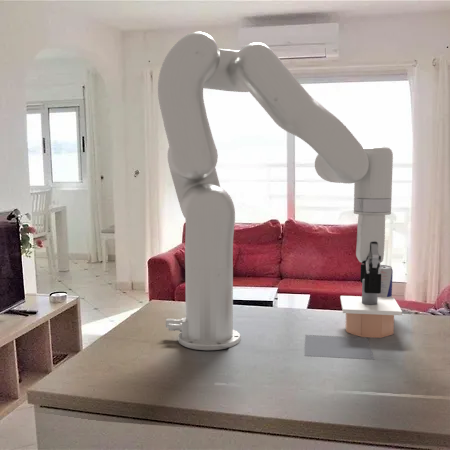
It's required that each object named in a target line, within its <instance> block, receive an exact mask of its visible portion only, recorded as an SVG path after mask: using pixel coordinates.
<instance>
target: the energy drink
mask: <svg viewBox="0 0 450 450" xmlns="http://www.w3.org/2000/svg"><path fill="white" fill-rule="evenodd" d="M380 266H381V293H379V294H378V297H391V298H393V275H394V274H393V273H394V272H393V267H392V266H391V265H387V264H380Z"/></svg>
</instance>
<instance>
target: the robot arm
mask: <svg viewBox="0 0 450 450" xmlns="http://www.w3.org/2000/svg"><path fill="white" fill-rule="evenodd" d="M163 59H164V60H163V62H162V64H161V68H160V70H159V74H158V75H159V76H158V81H157V99H158V103H159V104H158V105H159V108H160V112H161V118H162V121H163V126H164V130H165V135H166V138H167V142H168V149H167V163H168V167H169V171H170V175H171V179H172V182H173V185H174V191H175V194H176V196H177V200H178V204H179V208H180V211H181V213H182V216H183V217H184V219H185V236H184V237H185V238H184V240H185V241H184V242H185V244H184V268H185V270H184V271H185V272H184V273H185V278H184V279H185V283H184V284H185V317H181V319H176V318H166V319H165V328H166V329H168V331H174V332H175V331H178V332H179V334H178V338H177V339H178V340H177V341H178V343H179V344H180V345H182V346H183V347H185V348H188V349H191V350H197V351H218V350H219V351H220V350H226V349H230V348H231V347H234V346H236V345H238V344H239V343H240V342H241V333H239V331H237V330H235V329H234V312H233V311H234V293H233V292H234V264H233V263H234V260H233V259H234V257H233V256H234V253H233V252H234V235H235V234H234V233H235V221H236V210H235V209H236V208H235V204H234V202H233V198H232V197H231V196H230V194H229V193H228V192H227V191H226V190H225V189H224V188H222V187H221V185H220V179H219V177H218V172H217V169H216V166H217V164H218V158H219V157H218V155H219V154H218V149H217V146H216V143H215V140H214V137H213V134H212V130H211V126H210V123H209V119H208V115H207V110H206V106H205V101H204V89H207V90H217V91H223V92H224V91H225V92H235V93H237V92H238V93H250V94H251V96H252V97H253V98H254V99H255V100H256V102H257V103H258V104H259V105H260V106H261V107H262V108H263V110H264V111H265V112H266V114H267V115H268V116H269V117H270V118H271V119H272V121H274V123H275V124H276V125H277V126H278V127H280V128H281V129H283V131H285V132H287V133H289V134H291V135H294V136H295V137H298V138H299V139H301V140H302V141H303V142H304V143H305V144H307V145H309V147H310V148H312V149H313V150H314V151H315V153H317V155H316V157H315V159H314V169H315V172H316V173H317V175H318V176H319V177H320V178H321V179H322V180H324V181H327V182H330V183H337V184H338V183H339V184H354V188H353V189H354V190H353V214H355V215H358V216H357V229H356V232H357V233H356V249H355V256H356V258H357V260H358V262H359V263H361V264H360V277H359V279H360V283H361V284H362V279H365V283H364V291H365V293H378V294H379V293H381V266H380V265H381V263H382V262H384V256H385V242H386V240H385V239H386V216H388V215H389V216H390V215H392V194H393V169H394V167H393V165H394V164H393V163H394V157H393V154H394V153H393V150H392V149H391V148H390V147H385V146H362V144H361V143H360V141H358V139H357V138H356V137H355V135H354V134H353V133H352V132H351V131H350V130H349V129H348V127H347V126H346V125H345V124H344V122H342V121H341V120H340V119H339V118H338V117H336V116H335V115H334V114H333V113H331V112H330V110H328V109H326V107H324V106H323V105H322V104H321V103H320V102H318V101H317V100H316V99H314V98H313V97H312V96H311V95H310V94H309V92H308V91H307V90H306V89H305V88H304V87H303V85H301V83H300V82H299V80H297V78H296V77H295V76H294V74H293V73H292V72H291V71H290V70H289V68H288V67H287V66H286V65H285V63H284V62H283V61H282V60H281V59H280V58H279V56H278V55H277V54H276V53H275V52H274V50H273V49H272V48H271V47H269V46H268V45H266V44H265V43H263V42H252V43H251V42H250V43H248V44H246V45H244V46H243V47H242V48H241V49H239V50H235V49H225V48H224V49H223V48H220V47H219V46H218V43H217V41H216V40H215V39H214V38H213V37H212V35H210V34H208V33H206V32H202V31H194V32H190V33H187V34H186V35H184V36H182V37H181V38H180V39H179V40H178V41H177V42H175V44H173V46H172V47H171V49H170V50H169V51H168V53H167V54H166V56H165V57H164V58H163Z"/></svg>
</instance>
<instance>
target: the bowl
mask: <svg viewBox="0 0 450 450" xmlns="http://www.w3.org/2000/svg"><path fill="white" fill-rule="evenodd" d="M344 322H345V323H344V324H345V332H346V333H349V334H351V335H354V336H356V337H357V336H358V337H364V338H373V339H374V338H377V339H378V338H380V339H381V338H384V337H389V336H391V335H394V331H395V328H394V327H395V315H377V314H353V313H345V321H344Z"/></svg>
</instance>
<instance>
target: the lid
mask: <svg viewBox="0 0 450 450" xmlns="http://www.w3.org/2000/svg"><path fill="white" fill-rule="evenodd" d="M364 283H365V279H362V283H361V296H360V295H359V296H358V295H356V296H355V295H340V296H339V299H340V305H341V310H342V313H343V314H346V313H353V314H377V315H394V316H403V310H402V309H401V307H400V305H399V304H398V302H397V301H396V299H395V297H392V298H391V297H378V293H365V291H364Z"/></svg>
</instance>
